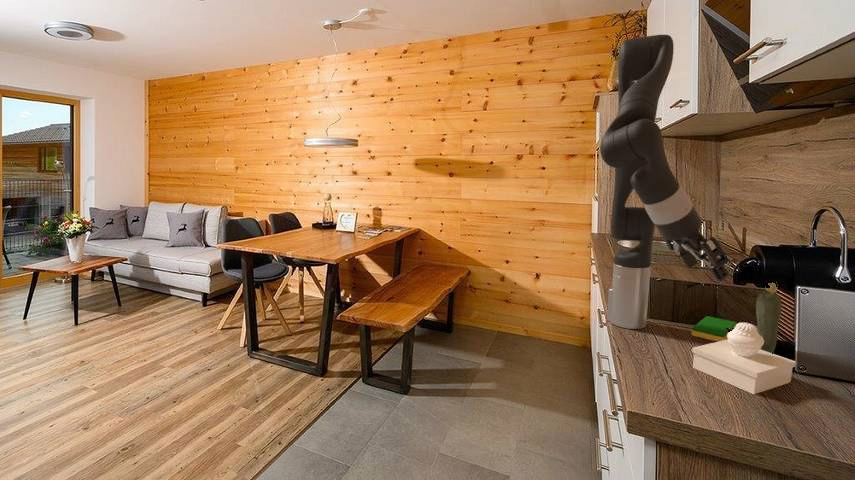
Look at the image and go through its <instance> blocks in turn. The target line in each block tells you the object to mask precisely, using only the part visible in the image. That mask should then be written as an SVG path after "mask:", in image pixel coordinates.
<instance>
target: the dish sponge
mask: <svg viewBox="0 0 855 480" xmlns="http://www.w3.org/2000/svg"><path fill="white" fill-rule="evenodd" d="M737 324H738V322H736V321H732V320H728V319H722V318H719V317H718V318H717V317H713V316H709V315H708V316H704V318H703V319H701V320H700V321H699V322H698V323H696V324H695V325H694V326H693V327H691V336H693V337H698V338H701V339H706V340H709V341H714V342H719V341H723V340H727V339H728V338H727V334H728V333H729V332H728V330H727V329H726V327H727V328H731V329H732V328H735V326H736V325H737Z"/></svg>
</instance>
